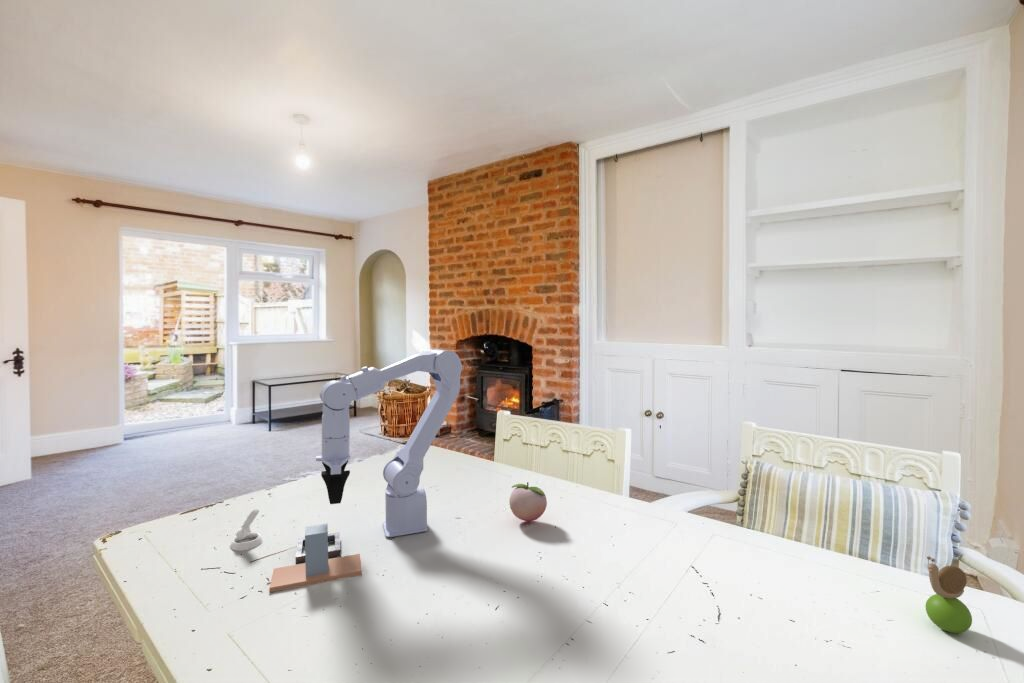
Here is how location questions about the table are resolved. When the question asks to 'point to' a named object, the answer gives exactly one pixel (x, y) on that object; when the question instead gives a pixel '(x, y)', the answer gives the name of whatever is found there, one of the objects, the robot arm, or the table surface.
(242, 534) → the white handled ring
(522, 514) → the decorative fruit
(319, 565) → the metal peg
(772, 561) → the table surface
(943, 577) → the snail figurine
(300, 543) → the iron collar
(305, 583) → the terracotta tile
